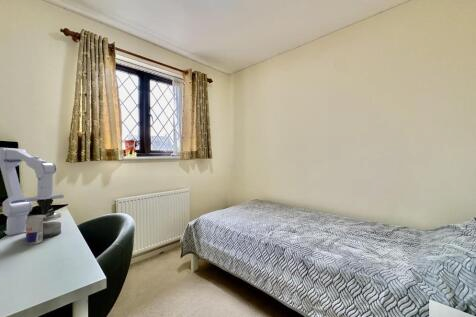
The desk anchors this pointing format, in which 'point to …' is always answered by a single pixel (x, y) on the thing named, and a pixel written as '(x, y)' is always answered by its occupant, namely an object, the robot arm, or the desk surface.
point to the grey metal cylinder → (51, 229)
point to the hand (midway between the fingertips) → (44, 214)
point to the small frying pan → (49, 216)
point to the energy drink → (34, 230)
